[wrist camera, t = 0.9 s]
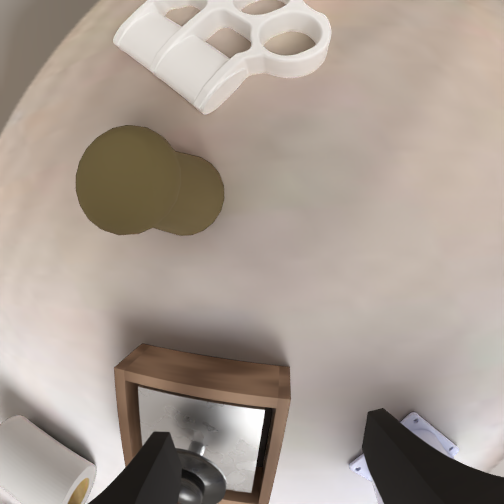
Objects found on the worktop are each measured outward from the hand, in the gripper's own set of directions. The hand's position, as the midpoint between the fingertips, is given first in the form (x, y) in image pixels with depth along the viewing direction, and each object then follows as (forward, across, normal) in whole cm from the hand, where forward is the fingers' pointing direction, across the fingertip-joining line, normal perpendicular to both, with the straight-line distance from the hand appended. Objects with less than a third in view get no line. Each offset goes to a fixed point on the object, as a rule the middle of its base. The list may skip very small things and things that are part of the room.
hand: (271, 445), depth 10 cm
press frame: (+13, +5, +10) cm, 17 cm away
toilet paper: (+14, +25, +18) cm, 34 cm away
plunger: (+10, +5, +9) cm, 15 cm away
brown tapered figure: (+16, +4, -8) cm, 18 cm away
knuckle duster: (+18, 0, -23) cm, 29 cm away
